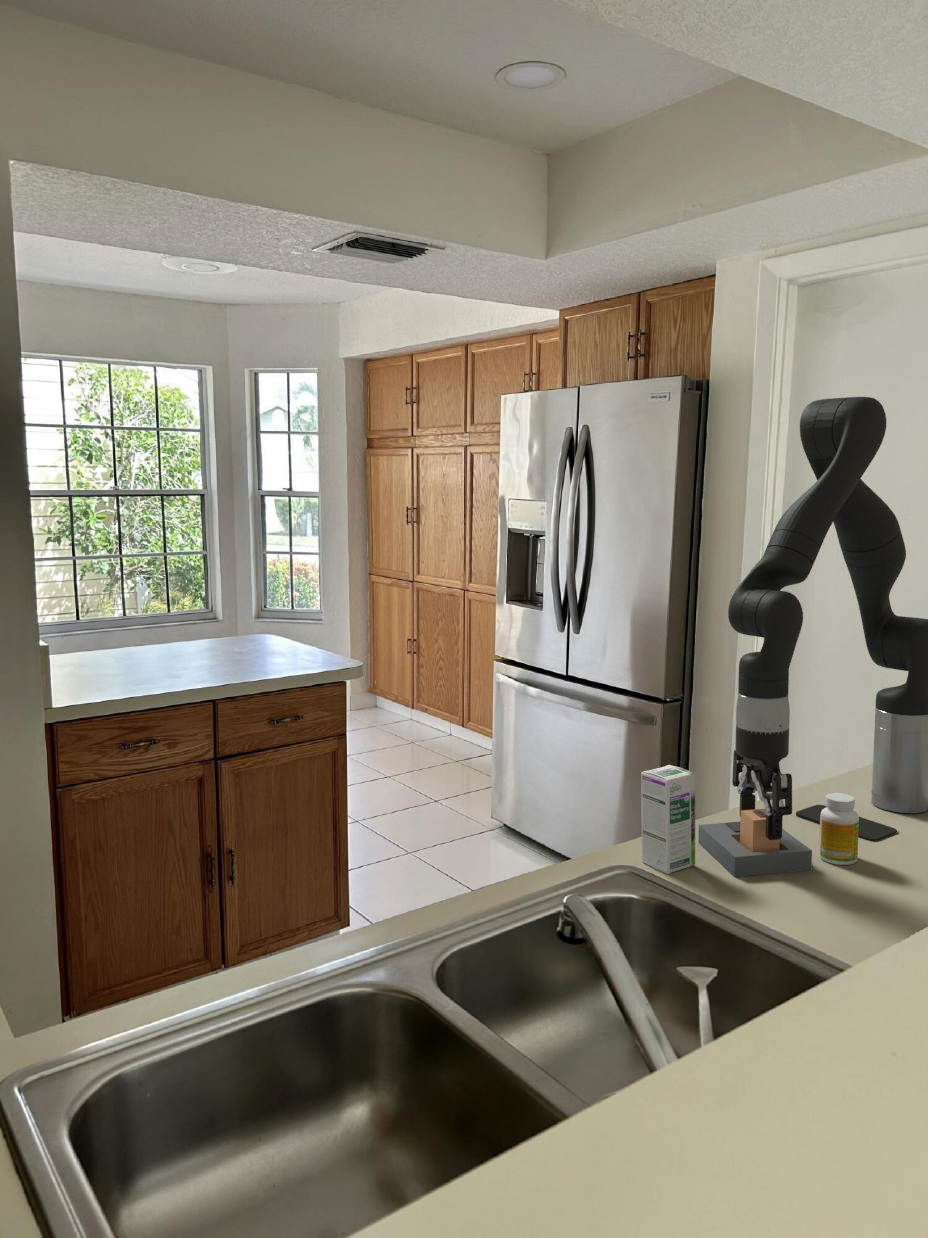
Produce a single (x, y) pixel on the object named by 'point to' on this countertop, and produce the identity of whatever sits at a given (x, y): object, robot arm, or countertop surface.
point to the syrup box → (668, 818)
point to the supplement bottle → (839, 830)
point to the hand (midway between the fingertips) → (760, 828)
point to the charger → (755, 832)
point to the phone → (866, 827)
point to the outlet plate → (741, 862)
